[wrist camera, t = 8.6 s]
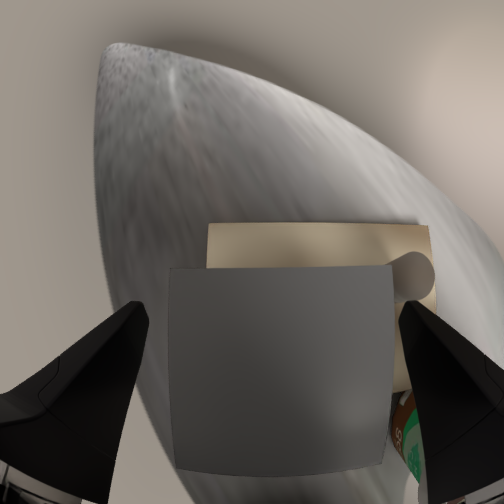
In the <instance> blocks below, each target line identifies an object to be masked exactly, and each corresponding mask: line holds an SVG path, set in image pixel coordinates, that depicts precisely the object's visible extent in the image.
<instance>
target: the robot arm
mask: <svg viewBox="0 0 504 504" xmlns="http://www.w3.org/2000/svg"><path fill="white" fill-rule="evenodd" d="M398 325H399V330H400V335H401V340H402V346H403V352H404V358H405V362H406V367H407V370H408V374H409V378H410V382H411V387H412V391H413V395H414V400H415V404H416V409H417V414H418V420H419V425H420V431H421V437H422V444H423V451H424V459H425V469H426V479H427V494H428V504H443V503H446V502H449V501H452V500H455V499H457V498H460V497H463V496H464V500H462V501H461V502H459V503H457V504H504V370H503V369H502V368H500V367H499V366H498V365H497V364H496V363H494V362H493V361H492V360H491V359H490V358H489V357H487V356H486V355H484V353H483V352H482V351H480V350H479V349H478V348H477V347H476V346H474V345H473V344H472V343H471V342H470V341H468V340H467V339H466V338H465V337H463V336H462V335H461V334H460V333H459V332H457V331H456V330H455V329H454V328H452V327H451V326H450V325H449V324H447V323H446V322H445V321H443V320H442V319H441V318H440V317H438V316H437V315H436V314H434V313H433V312H432V311H431V310H429V309H428V308H427V307H425V306H424V305H423V304H421V303H420V302H419V301H417V300H408V301H406V302H405V303H404V306H403V308H402V311H401V313H400V316H399V319H398ZM148 327H149V318H148V315H147V313H146V310H145V307H144V305H143V303H142V302H140V301H130V302H129V303H127V304H126V305H125V306H123V307H122V308H121V309H119V310H118V311H117V312H115V313H114V314H113V315H111V316H110V317H109V318H107V319H106V320H105V321H103V322H102V323H101V324H99V325H98V326H97V327H95V328H94V329H93V330H91V331H90V332H89V333H88V334H86V335H85V336H84V337H82V338H81V339H80V340H78V341H77V342H76V343H75V344H73V345H72V346H71V347H69V348H68V349H67V350H66V351H64V352H63V353H62V354H61V355H60V356H58V357H57V358H55V359H54V360H53V361H52V362H50V363H49V364H48V365H46V366H45V367H44V368H42V369H41V370H40V371H38V372H37V373H35V374H34V375H32V376H31V377H30V378H28V379H27V380H25V381H24V382H22V383H21V384H19V385H18V386H16V387H15V388H13V389H12V390H10V391H8V392H6V393H3V394H0V504H81V502H82V499H84V500H87V501H90V502H93V503H97V504H108V499H109V493H110V487H111V482H112V476H113V472H114V467H115V460H116V456H117V452H118V447H119V443H120V438H121V434H122V430H123V426H124V422H125V418H126V414H127V410H128V407H129V403H130V399H131V396H132V392H133V389H134V385H135V382H136V378H137V375H138V372H139V368H140V365H141V361H142V357H143V352H144V347H145V342H146V337H147V332H148Z"/></svg>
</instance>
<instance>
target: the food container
mask: <svg viewBox="0 0 504 504" xmlns="http://www.w3.org/2000/svg"><path fill="white" fill-rule="evenodd" d="M391 436H392V440H393V443H394V447H395V448H396V450H397V451H398V453H399V454H400V456H401V457H402V459H403V460H404V462H405V463H406V465H407V466H408V468H409V469H410V471H411V472H412V474H413V475H414V477H415V478H416V480H417V481H418V483H419V487H418V502H419V504H428V494H427V479H426V469H425V459H424V451H423V444H422V437H421V431H420V425H419V420H418V414H417V409H416V404H415V400H414V395H413V391H412V389H411V390H406V391H403V393H402V395H401V396H400V398H399V401H398V404H397V407H396V410H395V413H394V415H393V419H392V433H391ZM462 500H464V496H463V497H460V498H457V499H455V500H452V501H449V502H446V503H443V504H457V503H459V502H461V501H462Z"/></svg>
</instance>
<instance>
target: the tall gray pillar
mask: <svg viewBox="0 0 504 504" xmlns="http://www.w3.org/2000/svg"><path fill="white" fill-rule="evenodd" d="M394 355H395V308H394V287H393V273H392V265H369V266H331V267H279V268H170V280H169V308H168V366H169V393H170V410H171V424H172V435H173V445H174V455H175V463H176V468H177V469H183V470H189V471H195V472H203V473H211V474H220V475H232V476H250V477H286V476H304V475H316V474H325V473H333V472H340V471H347V470H353V469H358V468H363V467H368V466H373V465H377V464H382V459H383V454H384V449H385V444H386V438H387V432H388V425H389V417H390V409H391V400H392V389H393V376H394Z"/></svg>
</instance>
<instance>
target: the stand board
mask: <svg viewBox="0 0 504 504" xmlns="http://www.w3.org/2000/svg"><path fill="white" fill-rule="evenodd" d="M369 265H392V273H393V287H394V308H395V355H394V376H393V389H392V393H396V392H401V391H406V390H411V389H412V387H411V382H410V378H409V374H408V370H407V367H406V362H405V358H404V352H403V346H402V340H401V335H400V330H399V325H398V319H399V316H400V313H401V311H402V308H403V306H404V303H405V302H406V301H408V300H417V301H419V302H420V303H421V304H423V305H424V306H425V307H427V308H428V309H429V310H431V311H432V312H433V313H434V314H436V296H435V273H434V268H433V258H432V250H431V243H430V236H429V229H428V226H424V225H400V224H367V223H291V222H281V223H209V228H208V245H207V265H206V268H279V267H331V266H369Z"/></svg>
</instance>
